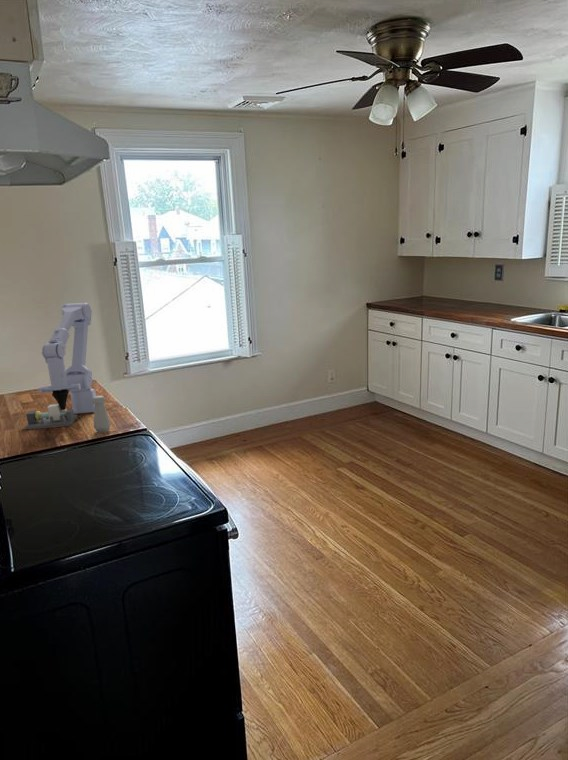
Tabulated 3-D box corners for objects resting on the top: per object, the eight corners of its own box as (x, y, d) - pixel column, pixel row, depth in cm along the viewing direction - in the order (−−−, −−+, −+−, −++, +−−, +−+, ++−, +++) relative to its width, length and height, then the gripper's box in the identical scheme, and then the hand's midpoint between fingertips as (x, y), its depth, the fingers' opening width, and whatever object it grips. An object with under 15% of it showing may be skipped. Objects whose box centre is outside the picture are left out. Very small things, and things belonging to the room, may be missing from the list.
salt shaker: (106, 434, 190) (100, 398, 187) (91, 434, 191) (86, 398, 188) (114, 428, 195) (109, 394, 192) (100, 428, 197) (94, 394, 193)
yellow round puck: (42, 418, 207) (40, 409, 206) (39, 421, 204) (37, 412, 203) (39, 419, 207) (37, 410, 206) (36, 421, 204) (34, 412, 203)
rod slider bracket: (77, 417, 212) (75, 404, 211) (70, 425, 202) (68, 412, 201) (34, 421, 210) (32, 408, 209) (26, 429, 201) (23, 416, 199)
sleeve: (63, 417, 208) (60, 403, 207) (60, 420, 205) (58, 406, 203) (52, 418, 208) (50, 404, 207) (49, 421, 204) (47, 407, 203)
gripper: (34, 378, 198) (40, 414, 201) (75, 375, 199) (80, 410, 203) (40, 374, 205) (46, 408, 208) (79, 371, 206) (84, 405, 209)
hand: (63, 409), depth 206 cm, fingers closed
